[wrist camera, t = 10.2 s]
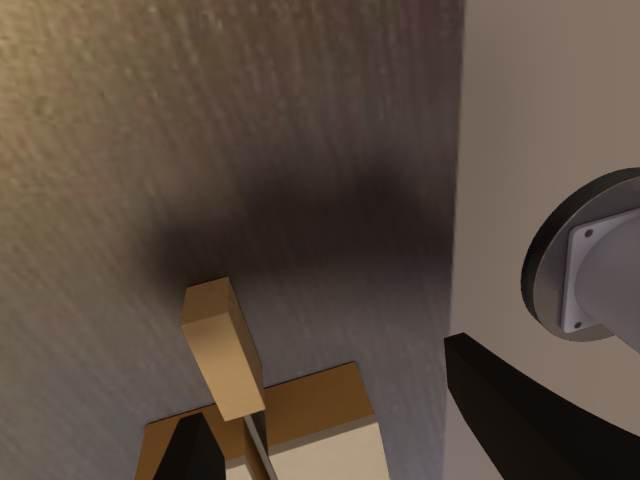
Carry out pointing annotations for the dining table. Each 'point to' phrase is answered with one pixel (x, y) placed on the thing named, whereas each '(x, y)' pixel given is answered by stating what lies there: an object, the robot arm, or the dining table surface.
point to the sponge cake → (293, 433)
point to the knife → (227, 357)
